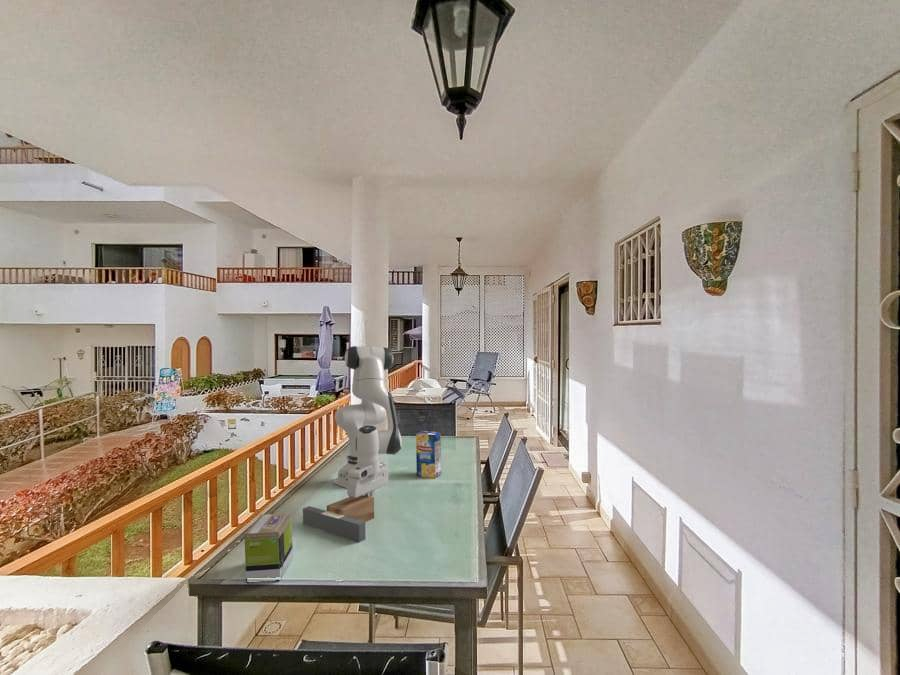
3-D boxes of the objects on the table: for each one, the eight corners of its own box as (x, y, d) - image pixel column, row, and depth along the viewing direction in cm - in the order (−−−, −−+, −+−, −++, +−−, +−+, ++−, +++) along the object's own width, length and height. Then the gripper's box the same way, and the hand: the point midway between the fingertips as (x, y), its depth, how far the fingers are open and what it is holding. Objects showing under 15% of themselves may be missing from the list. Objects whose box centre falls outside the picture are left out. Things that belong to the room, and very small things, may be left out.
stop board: (302, 524, 175) (302, 508, 175) (309, 521, 178) (309, 505, 178) (359, 542, 158) (359, 524, 158) (365, 538, 161) (365, 521, 161)
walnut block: (326, 527, 172) (326, 505, 172) (357, 513, 185) (357, 493, 185) (343, 532, 167) (343, 510, 167) (374, 518, 180) (373, 497, 180)
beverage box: (435, 478, 231) (434, 434, 231) (416, 476, 236) (415, 433, 237) (441, 474, 237) (440, 432, 238) (423, 472, 242) (422, 430, 243)
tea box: (261, 559, 147) (260, 513, 147) (293, 557, 148) (293, 511, 148) (244, 584, 132) (243, 532, 132) (280, 582, 133) (279, 530, 133)
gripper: (380, 460, 194) (380, 492, 194) (344, 473, 177) (345, 508, 177) (391, 462, 190) (392, 495, 190) (356, 475, 173) (357, 512, 173)
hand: (369, 502), depth 183 cm, fingers closed
